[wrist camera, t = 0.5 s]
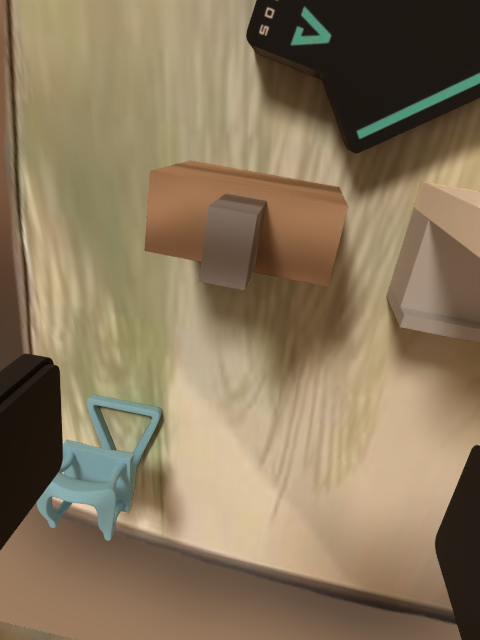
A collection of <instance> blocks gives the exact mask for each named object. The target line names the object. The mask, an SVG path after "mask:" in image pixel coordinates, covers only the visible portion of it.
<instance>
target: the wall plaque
mask: <svg viewBox="0 0 480 640" xmlns="http://www.w3.org/2000/svg"><path fill="white" fill-rule="evenodd" d="M246 37H247V41H248V42H249V44H250V45H251V46H252V48H253V49H254V51H255V52H256V53H258V54H259V55H262V56H264V57H267V58H269V59H272V60H274V61H277V62H279V63H282V64H284V65H287V66H289V67H292V68H294V69H297V70H299V71H302V72H304V73H306V74H309V75H311V76H314V77H317V78H320V79H321V80H322V81H323V84H324V87H325V90H326V93H327V95H328V98H329V101H330V104H331V107H332V110H333V112H334V115H335V118H336V121H337V124H338V127H339V129H340V132H341V135H342V138H343V141H344V143H345V146H346V148H347V149H348V150H350V151H352V152H354V153H359V152H362V151H364V150H366V149H368V148H370V147H372V146H375V145H377V144H379V143H381V142H383V141H386V140H388V139H390V138H392V137H394V136H397V135H399V134H401V133H403V132H405V131H407V130H410V129H412V128H414V127H416V126H418V125H421V124H423V123H425V122H427V121H429V120H432V119H434V118H436V117H438V116H440V115H443V114H445V113H447V112H449V111H451V110H454V109H456V108H458V107H460V106H462V105H465V104H467V103H469V102H471V101H473V100H476V99H478V98H480V0H257V1H256V4H255V7H254V10H253V14H252V17H251V20H250V23H249V26H248V29H247V34H246Z"/></svg>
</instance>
